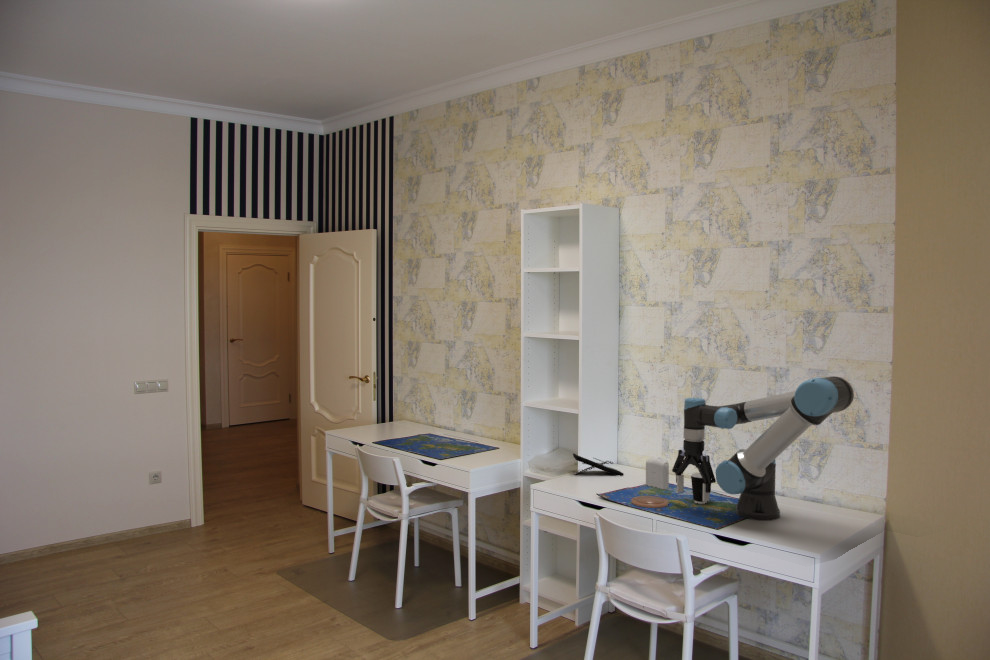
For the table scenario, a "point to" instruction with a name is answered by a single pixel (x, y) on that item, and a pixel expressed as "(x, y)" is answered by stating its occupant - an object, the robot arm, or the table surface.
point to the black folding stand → (597, 465)
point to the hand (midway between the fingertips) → (692, 496)
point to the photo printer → (657, 473)
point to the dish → (650, 501)
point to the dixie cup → (697, 488)
